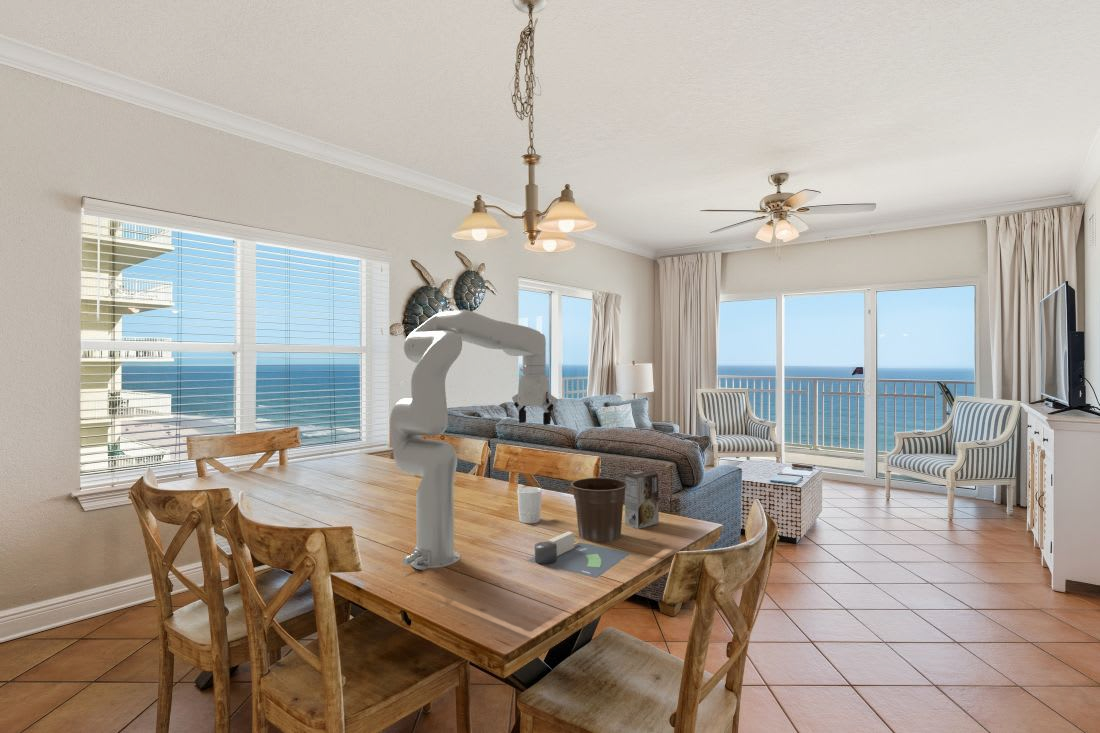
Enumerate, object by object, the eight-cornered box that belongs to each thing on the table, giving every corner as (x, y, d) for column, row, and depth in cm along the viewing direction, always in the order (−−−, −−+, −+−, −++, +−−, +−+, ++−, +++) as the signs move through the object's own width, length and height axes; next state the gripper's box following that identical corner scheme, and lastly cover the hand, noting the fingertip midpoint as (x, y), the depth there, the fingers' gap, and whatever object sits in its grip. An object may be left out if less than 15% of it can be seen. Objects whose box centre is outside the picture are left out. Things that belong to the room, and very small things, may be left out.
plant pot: (559, 537, 160) (559, 482, 160) (598, 525, 170) (598, 474, 170) (599, 552, 148) (599, 493, 147) (638, 539, 158) (638, 483, 158)
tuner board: (596, 581, 128) (596, 577, 128) (527, 564, 139) (527, 560, 139) (630, 556, 144) (630, 552, 144) (566, 542, 155) (566, 538, 155)
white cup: (543, 517, 180) (543, 487, 180) (540, 524, 172) (540, 493, 172) (519, 516, 181) (519, 486, 181) (515, 523, 173) (515, 492, 173)
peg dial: (547, 565, 135) (547, 548, 135) (530, 560, 139) (530, 543, 139) (586, 545, 149) (586, 530, 149) (570, 541, 152) (570, 526, 152)
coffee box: (644, 518, 177) (644, 469, 177) (659, 523, 172) (659, 473, 172) (623, 524, 172) (623, 473, 172) (638, 529, 167) (638, 476, 167)
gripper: (506, 371, 179) (506, 423, 180) (550, 371, 170) (550, 426, 170) (519, 370, 186) (520, 420, 186) (562, 371, 176) (563, 423, 177)
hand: (534, 423), depth 178 cm, fingers open, 9 cm apart
